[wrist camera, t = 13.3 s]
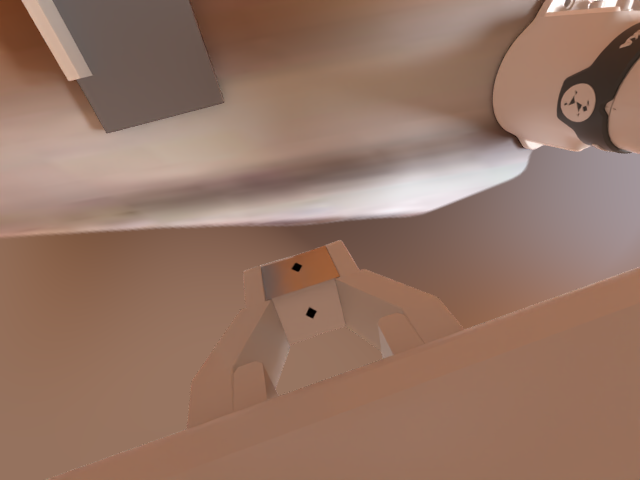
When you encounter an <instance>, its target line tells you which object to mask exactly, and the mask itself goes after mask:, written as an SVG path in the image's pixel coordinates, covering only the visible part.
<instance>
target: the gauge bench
mask: <svg viewBox="0 0 640 480" xmlns="http://www.w3.org/2000/svg"><path fill="white" fill-rule="evenodd" d="M21 1H22V2H23V4H24V6H25V7H26V9H27V11H28V13H29V14H30V16H31V18H32V19H33V21H34V23H35V25H36V26H37V28H38V30H39V31H40V33H41V35H42V37H43V39H44V41H45V43H46V44H47V45H48V47H49V49H50V50H51V52H52V54H53V55H54V57H55V59H56V61H57V62H58V64H59V66H60V68H61V69H62V71H63V73H64V74H65V76H66V78H67V80H68V81H72V80H77V82H78V84H79V85H80V87H81V89H82V91H83V92H84V94H85V96H86V98H87V99H88V101H89V103H90V105H91V106H92V108H93V110H94V112H95V114H96V115H97V117H98V119H99V121H100V122H101V124H102V126H103V128H104V129H105V131H106V133H111V132H115V131H118V130H122V129H126V128H130V127H134V126H138V125H141V124H145V123H149V122H153V121H157V120H160V119H164V118H168V117H172V116H176V115H179V114H183V113H187V112H191V111H195V110H199V109H202V108H206V107H210V106H214V105H218V104H221V103H224V99H223V96H222V93H221V90H220V88H219V85H218V82H217V79H216V76H215V73H214V70H213V67H212V64H211V62H210V59H209V56H208V53H207V50H206V47H205V44H204V41H203V38H202V35H201V33H200V30H199V27H198V24H197V21H196V18H195V15H194V12H193V9H192V7H191V4H190V1H189V0H21Z"/></svg>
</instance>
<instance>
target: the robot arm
mask: <svg viewBox="0 0 640 480" xmlns="http://www.w3.org/2000/svg"><path fill="white" fill-rule="evenodd" d="M564 2H565V4H564ZM493 109H494V113H495V116H496V119H497V121H498V122H499V124H500V125H501V127H502V128H503V129H505V130H506V131H508V132H509V133H512V134H514V135H515V136H517V137H518V139H519V141H520V142H521V144H522V146H523V147H524V148H526V149H531V150H534V149H536V148H538V147H540V146H542V145H548V146H552V147H557V148H561V149H566V150H571V151H582V150H583V149H585V148H588V147H590V146H593V147H595V148H598V149H600V150H604V151H609V152H617V153H632V152H634V153H637V154H640V0H545V2H544V3H543V5H542V7H541V8H540V10H539V12H538V14H537V16H536V18H535V19H534V20H533V21H532V23H531V24H530V25H529V26H528V27H527V28H526V29H525V30H524V31H523V32H522V33H521V34H520V35H519V36H518V37H517V39H516V40H515V41H514V43H513V44H512V45H511V47H510V48H509V50H508V51H507V53H506V55H505V57H504V59H503V61H502V63H501V65H500V67H499V70H498V73H497V76H496V79H495V83H494V89H493ZM243 279H244V292H245V305H246V308H243V309H241V310H240V311H239V313H238V314H237V316H236V317H235V319H234V320H233V321H232V323H231V325H230V326H229V327H228V329H227V330H226V332H225V333H224V335H223V336H222V338H221V339H220V341H219V342H218V343H217V345H216V346H215V348H214V349H213V351H212V352H211V354H210V355H209V357H208V358H207V360H206V361H205V363H204V364H203V365H202V367H201V368H200V370H199V371H198V373H197V374H196V376H195V377H194V379H193V380H192V383H191V392H190V402H189V411H188V421H187V429H185V430H182V431H180V432H177V433H174V434H171V435H169V436H166V437H163V438H160V439H157V440H154V441H152V442H149V443H146V444H143V445H140V446H138V447H135V448H132V449H129V450H127V451H124V452H121V453H118V454H115V455H113V456H110V457H107V458H104V459H102V460H99V461H96V462H93V463H90V464H87V465H85V466H82V467H79V468H76V469H74V470H71V471H68V472H65V473H62V474H59V475H57V476H54V477H51V478H48V479H45V480H640V267H638V268H636V269H632V270H630V271H627V272H624V273H622V274H618V275H616V276H613V277H610V278H607V279H605V280H602V281H599V282H596V283H593V284H590V285H588V286H585V287H582V288H579V289H576V290H574V291H571V292H568V293H565V294H563V295H560V296H557V297H554V298H551V299H549V300H546V301H543V302H540V303H537V304H535V305H532V306H529V307H526V308H524V309H521V310H518V311H515V312H513V313H510V314H507V315H504V316H501V317H498V318H496V319H493V320H490V321H487V322H484V323H482V324H479V325H476V326H473V327H470V328H468V329H464V328H463V327H462V326H461V325H460V323H459V322H458V321H457V320H456V319H455V317H454V316H453V315H452V314H451V313H450V311H449V310H448V309H447V308H446V307H445V305H444V304H443V303H442V302H441V300H440V299H439V298H438V297H436V296H433V295H430V294H428V293H425V292H423V291H420V290H417V289H415V288H412V287H410V286H407V285H404V284H402V283H399V282H397V281H394V280H392V279H389V278H386V277H384V276H381V275H379V274H376V273H373V272H371V271H368V270H366V269H363V270H359V269H358V267H357V265H356V264H355V262H354V260H353V259H352V257H351V255H350V253H349V252H348V250H347V248H346V247H345V245H344V243H343V242H342V241H341V240H339V241H336V242H333V243H331V244H327V245H325V246H322V247H319V248H317V249H313V250H310V251H307V252H304V253H301V254H298V255H295V256H291V257H287V258H284V259H280V260H277V261H274V262H270V263H267V264H264V265H261V266H257V267H253V268H251V269H247V270H244V273H243ZM345 326H346V327H347V328H348V329H350V330H351V331H352V332H354V333H355V334H357V335H358V336H360V337H361V338H363V339H364V340H366V341H367V342H369V343H370V344H371V345H373V346H374V347H375V348H377V349H378V350H380V351H381V352H382V357H383V359H381V360H378V361H375V362H372V363H370V364H367V365H364V366H361V367H358V368H356V369H353V370H350V371H347V372H344V373H342V374H339V375H336V376H333V377H331V378H328V379H325V380H322V381H319V382H316V383H314V384H311V385H308V386H305V387H303V388H300V389H297V390H294V391H291V392H289V393H286V394H283V395H280V396H278V394H277V392H276V390H275V388H276V386H277V383H278V380H279V377H280V374H281V372H282V369H283V366H284V363H285V360H286V358H287V355H288V352H289V349H290V345H292V344H295V343H298V342H300V341H303V340H305V339H308V338H311V337H314V336H316V335H319V334H322V333H326V332H329V331H332V330H335V329H338V328H342V327H345ZM317 333H318V334H317Z"/></svg>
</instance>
